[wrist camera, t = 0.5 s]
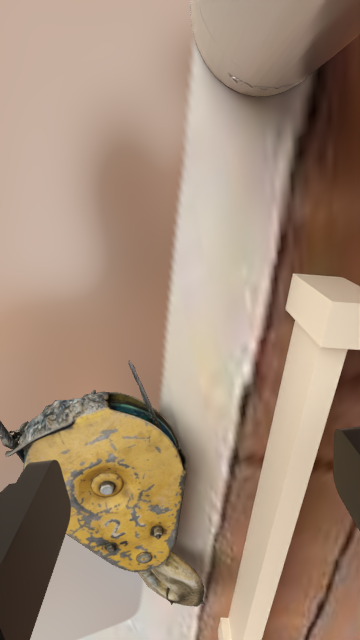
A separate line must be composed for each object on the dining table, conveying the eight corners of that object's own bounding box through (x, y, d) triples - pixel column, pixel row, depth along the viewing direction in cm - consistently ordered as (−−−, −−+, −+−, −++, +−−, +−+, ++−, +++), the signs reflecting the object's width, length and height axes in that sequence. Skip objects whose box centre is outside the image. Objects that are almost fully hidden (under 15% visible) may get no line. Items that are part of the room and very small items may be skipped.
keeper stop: (293, 273, 26) (332, 301, 20) (342, 277, 26) (397, 306, 20) (217, 631, 44) (225, 708, 37) (247, 632, 44) (260, 709, 37)
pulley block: (119, 660, 34) (-40, 442, 24) (119, 599, 40) (-10, 399, 29) (245, 606, 35) (144, 371, 25) (229, 553, 41) (140, 342, 30)
